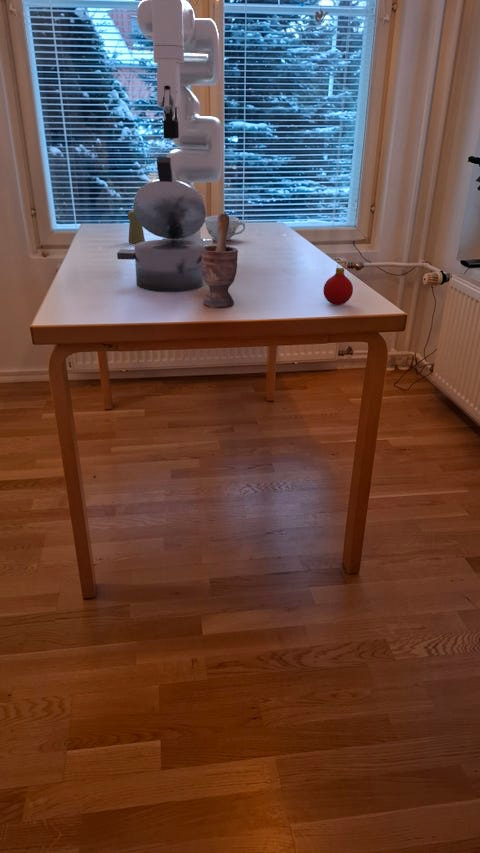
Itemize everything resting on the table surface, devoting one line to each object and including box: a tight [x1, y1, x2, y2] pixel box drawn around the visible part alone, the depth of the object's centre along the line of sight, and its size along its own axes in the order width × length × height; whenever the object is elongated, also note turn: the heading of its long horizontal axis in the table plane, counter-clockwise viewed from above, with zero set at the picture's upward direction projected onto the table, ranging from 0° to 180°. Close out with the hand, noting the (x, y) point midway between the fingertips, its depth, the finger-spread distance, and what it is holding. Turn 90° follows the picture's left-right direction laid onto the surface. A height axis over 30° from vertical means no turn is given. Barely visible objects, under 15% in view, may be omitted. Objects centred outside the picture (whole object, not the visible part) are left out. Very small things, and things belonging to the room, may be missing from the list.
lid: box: [132, 156, 207, 239], centre depth 151 cm, size 24×19×3 cm
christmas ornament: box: [323, 262, 354, 306], centre depth 140 cm, size 7×7×10 cm
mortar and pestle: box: [201, 213, 239, 309], centre depth 137 cm, size 12×9×20 cm
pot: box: [116, 237, 204, 293], centre depth 156 cm, size 20×27×10 cm
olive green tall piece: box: [127, 209, 146, 245], centre depth 207 cm, size 6×6×11 cm
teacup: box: [204, 215, 246, 241], centre depth 215 cm, size 15×12×8 cm
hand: (171, 137), depth 152 cm, fingers open, 4 cm apart
